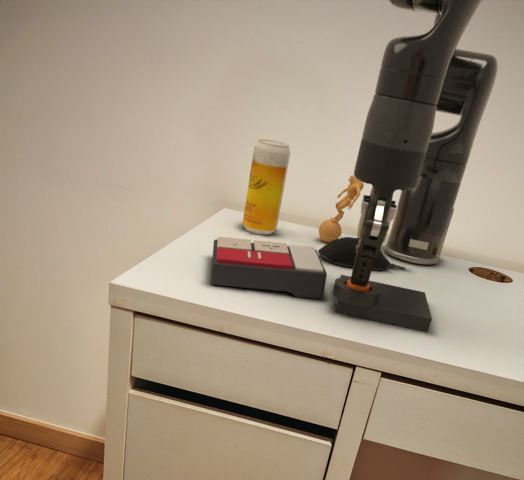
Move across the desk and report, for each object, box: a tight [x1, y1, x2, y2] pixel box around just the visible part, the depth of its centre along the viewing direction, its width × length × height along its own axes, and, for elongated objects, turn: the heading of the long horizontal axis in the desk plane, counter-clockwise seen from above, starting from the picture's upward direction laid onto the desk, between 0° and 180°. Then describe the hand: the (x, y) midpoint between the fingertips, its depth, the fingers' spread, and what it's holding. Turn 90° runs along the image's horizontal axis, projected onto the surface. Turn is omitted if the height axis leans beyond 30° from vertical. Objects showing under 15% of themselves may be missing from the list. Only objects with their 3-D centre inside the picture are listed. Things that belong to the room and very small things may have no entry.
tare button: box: [346, 279, 370, 291], centre depth 75 cm, size 3×3×2 cm
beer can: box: [242, 138, 291, 236], centre depth 100 cm, size 6×6×15 cm
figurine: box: [318, 174, 365, 243], centre depth 102 cm, size 8×6×12 cm
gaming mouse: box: [317, 236, 406, 271], centre depth 95 cm, size 6×15×4 cm, turn 95°
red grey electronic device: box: [210, 236, 328, 300], centre depth 81 cm, size 11×4×15 cm
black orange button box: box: [332, 274, 433, 333], centre depth 77 cm, size 11×13×4 cm
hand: (358, 283), depth 74 cm, fingers closed
